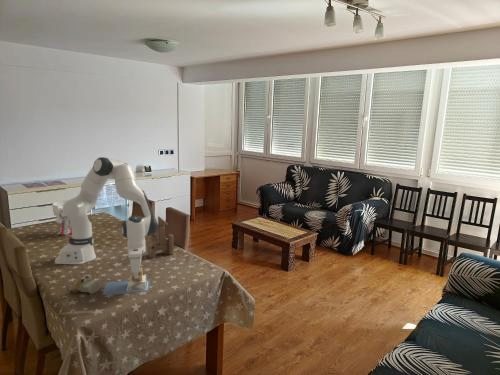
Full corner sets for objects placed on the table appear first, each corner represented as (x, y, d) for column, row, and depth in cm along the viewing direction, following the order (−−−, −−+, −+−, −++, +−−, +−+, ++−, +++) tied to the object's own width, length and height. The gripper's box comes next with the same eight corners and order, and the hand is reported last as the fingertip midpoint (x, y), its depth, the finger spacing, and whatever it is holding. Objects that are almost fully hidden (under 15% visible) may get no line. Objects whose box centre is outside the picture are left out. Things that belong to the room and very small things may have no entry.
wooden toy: (150, 258, 222) (149, 219, 217) (147, 254, 228) (146, 217, 223) (174, 254, 230) (174, 216, 226) (170, 251, 236) (170, 214, 231)
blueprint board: (102, 297, 173) (102, 294, 173) (106, 284, 186) (106, 282, 186) (149, 293, 178) (149, 291, 178) (150, 281, 191) (150, 279, 191)
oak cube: (131, 281, 180) (131, 272, 179) (132, 277, 184) (132, 267, 183) (142, 280, 181) (141, 271, 180) (142, 276, 186) (142, 267, 185)
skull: (51, 231, 266) (49, 201, 261) (78, 227, 277) (77, 198, 273) (57, 241, 246) (55, 209, 242) (87, 236, 258) (85, 205, 253)
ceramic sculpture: (91, 281, 169) (64, 279, 173) (92, 298, 171) (66, 295, 174) (105, 273, 180) (79, 270, 183) (106, 289, 181) (81, 286, 185)
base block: (128, 290, 178) (128, 282, 178) (130, 283, 186) (130, 276, 185) (145, 289, 180) (145, 281, 180) (146, 282, 188) (146, 275, 187)
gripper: (131, 241, 189) (132, 266, 191) (127, 255, 169) (128, 283, 172) (144, 241, 190) (144, 265, 193) (141, 255, 170) (142, 282, 173)
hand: (137, 273), depth 182 cm, fingers open, 8 cm apart
